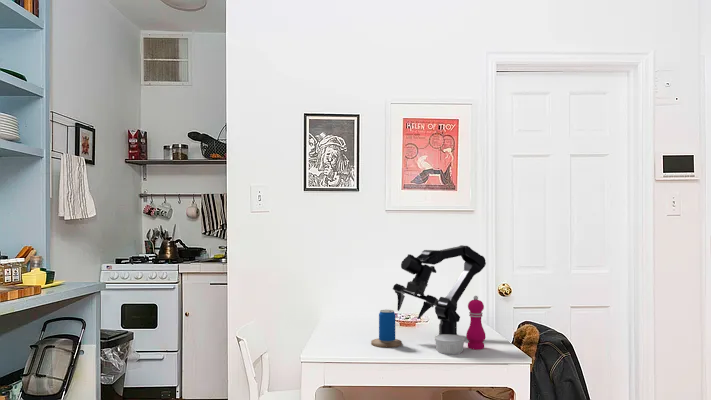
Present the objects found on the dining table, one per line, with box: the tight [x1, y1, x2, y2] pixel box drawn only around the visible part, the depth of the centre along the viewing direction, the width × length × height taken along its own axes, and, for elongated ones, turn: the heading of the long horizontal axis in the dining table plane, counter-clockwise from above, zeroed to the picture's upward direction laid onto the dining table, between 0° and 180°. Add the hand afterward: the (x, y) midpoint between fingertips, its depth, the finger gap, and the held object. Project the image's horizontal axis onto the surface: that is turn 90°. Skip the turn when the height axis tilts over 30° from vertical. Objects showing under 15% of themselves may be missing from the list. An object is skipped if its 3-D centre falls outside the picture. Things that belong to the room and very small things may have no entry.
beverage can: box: [378, 309, 396, 343], centre depth 222 cm, size 6×6×12 cm
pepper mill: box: [465, 295, 486, 351], centre depth 216 cm, size 7×7×20 cm
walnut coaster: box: [370, 338, 403, 348], centre depth 222 cm, size 12×12×1 cm
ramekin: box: [434, 334, 466, 355], centre depth 211 cm, size 11×11×5 cm
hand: (408, 314), depth 229 cm, fingers open, 9 cm apart
